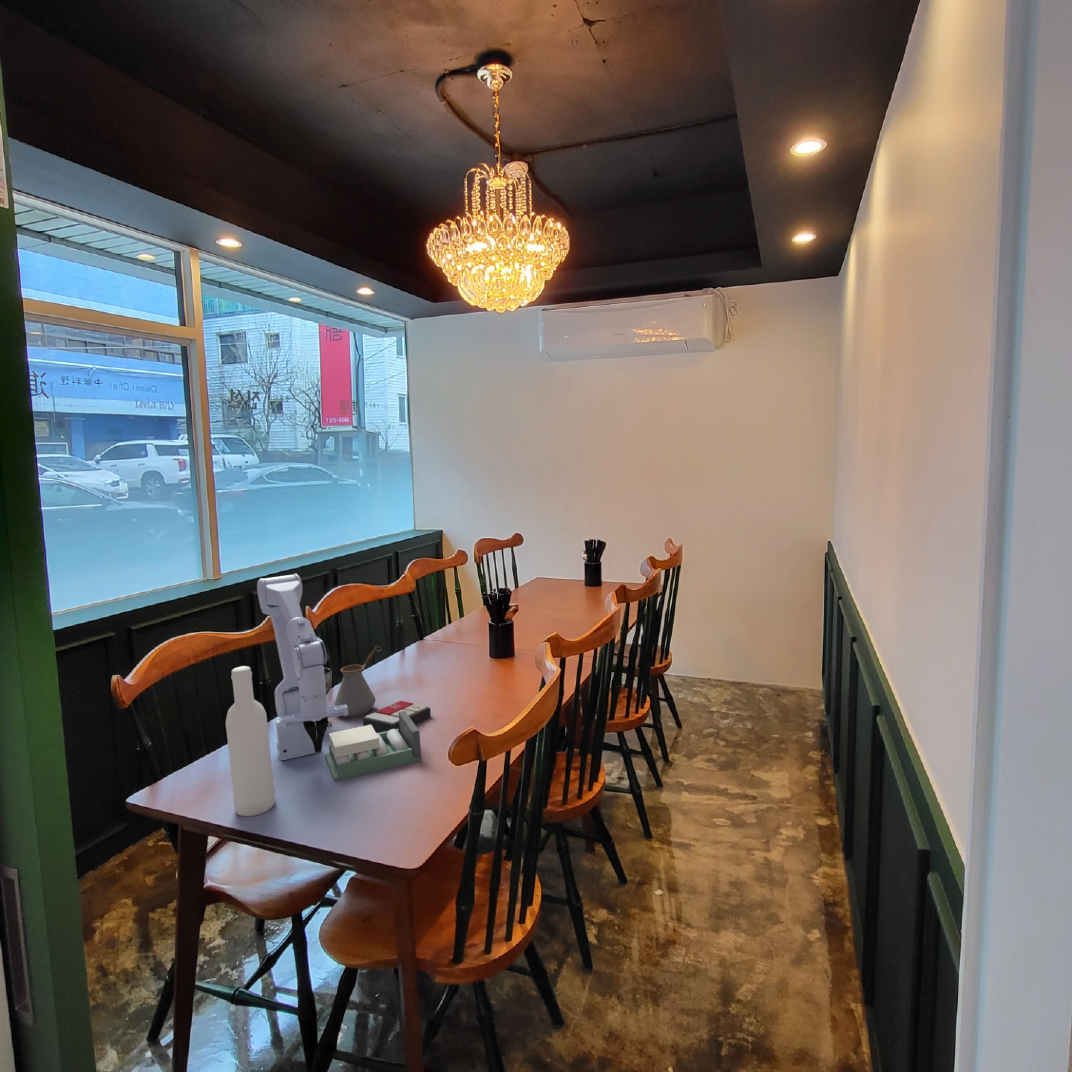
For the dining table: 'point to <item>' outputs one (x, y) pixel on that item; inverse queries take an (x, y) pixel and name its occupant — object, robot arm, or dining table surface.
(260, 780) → the bottle
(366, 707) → the coffee pot
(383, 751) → the roller frame
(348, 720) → the dining table surface
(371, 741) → the board
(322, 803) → the dining table surface
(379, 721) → the calculator
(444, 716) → the dining table surface
